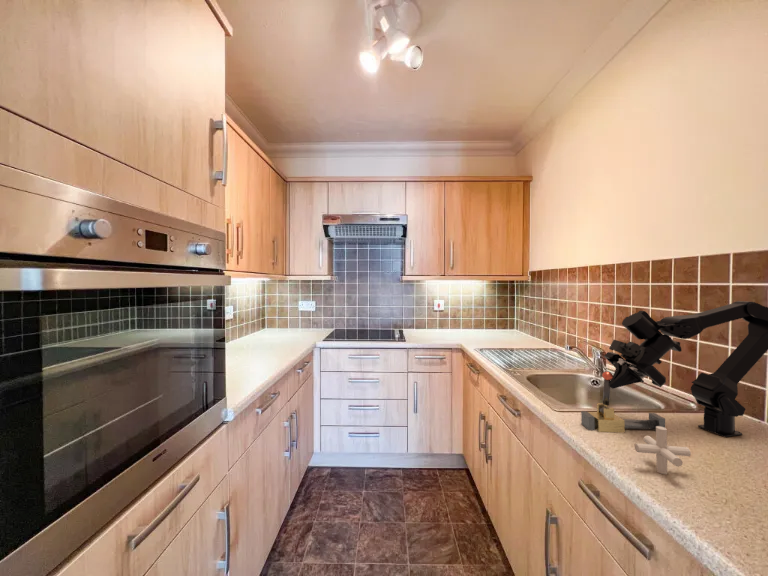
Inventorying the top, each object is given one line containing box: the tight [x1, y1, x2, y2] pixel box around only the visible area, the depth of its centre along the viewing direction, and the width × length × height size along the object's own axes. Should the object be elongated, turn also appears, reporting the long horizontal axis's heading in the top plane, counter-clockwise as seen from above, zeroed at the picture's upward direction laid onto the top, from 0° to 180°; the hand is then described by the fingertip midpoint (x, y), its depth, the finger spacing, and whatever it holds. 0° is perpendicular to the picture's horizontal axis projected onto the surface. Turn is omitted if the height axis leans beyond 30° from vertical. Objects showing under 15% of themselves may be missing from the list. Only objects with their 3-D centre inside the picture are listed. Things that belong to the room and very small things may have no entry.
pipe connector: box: [633, 426, 692, 475], centre depth 70 cm, size 10×10×10 cm
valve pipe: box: [580, 402, 666, 434], centre depth 92 cm, size 21×6×6 cm, turn 84°
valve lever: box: [599, 371, 614, 415], centre depth 92 cm, size 3×3×13 cm
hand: (610, 387), depth 92 cm, fingers closed, pressing on valve lever
